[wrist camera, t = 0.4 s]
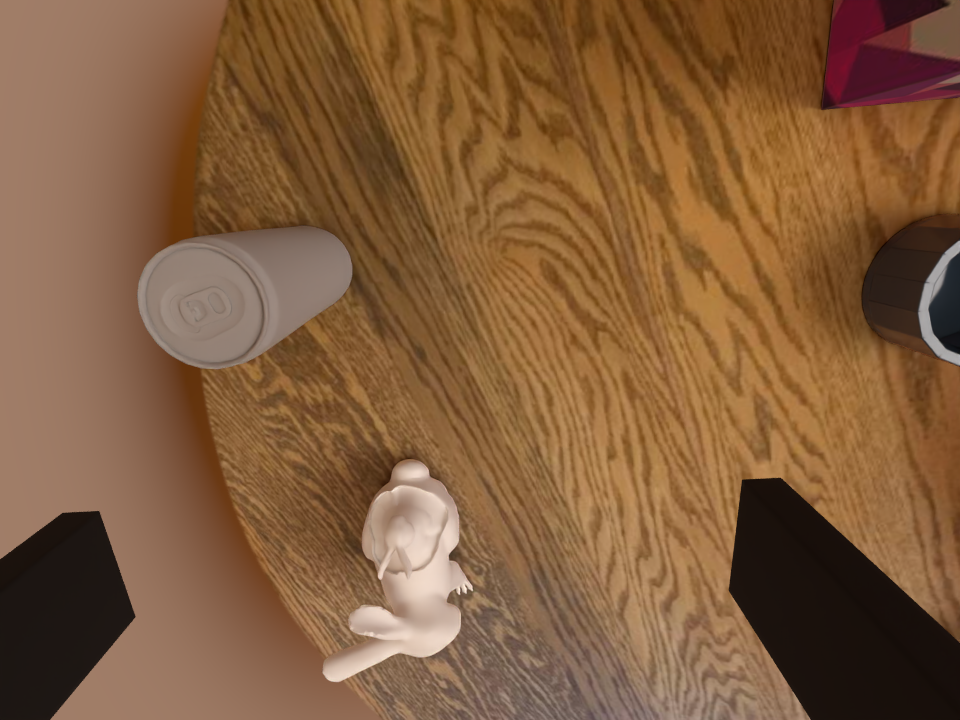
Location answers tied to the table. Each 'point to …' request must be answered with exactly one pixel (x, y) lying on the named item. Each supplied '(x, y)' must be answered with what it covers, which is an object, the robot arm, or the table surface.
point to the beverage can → (240, 291)
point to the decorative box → (892, 52)
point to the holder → (918, 288)
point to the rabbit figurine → (406, 573)
